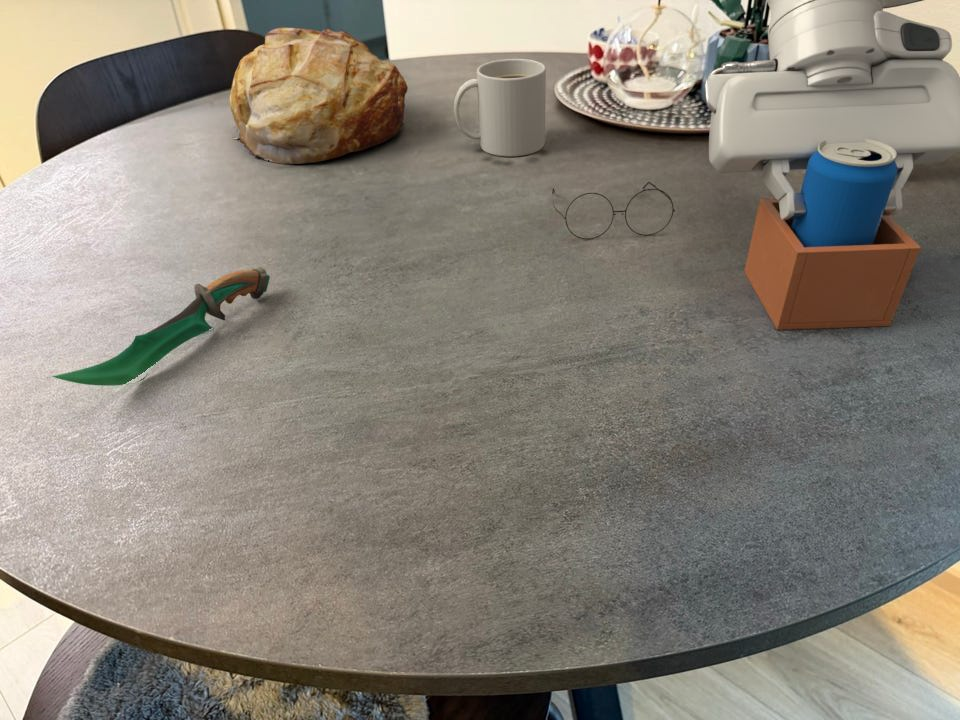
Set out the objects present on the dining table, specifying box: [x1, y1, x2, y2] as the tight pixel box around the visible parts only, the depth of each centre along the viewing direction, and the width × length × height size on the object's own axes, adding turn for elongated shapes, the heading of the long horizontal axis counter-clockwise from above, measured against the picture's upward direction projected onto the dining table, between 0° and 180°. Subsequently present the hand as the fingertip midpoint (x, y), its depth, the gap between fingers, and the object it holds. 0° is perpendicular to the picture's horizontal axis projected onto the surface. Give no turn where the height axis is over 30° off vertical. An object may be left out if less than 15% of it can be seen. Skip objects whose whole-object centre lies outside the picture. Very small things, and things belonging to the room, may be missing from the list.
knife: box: [51, 266, 271, 387], centre depth 60 cm, size 21×2×5 cm, turn 149°
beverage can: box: [791, 138, 897, 248], centre depth 59 cm, size 6×6×12 cm
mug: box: [453, 58, 547, 158], centre depth 93 cm, size 11×10×10 cm
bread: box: [228, 27, 409, 165], centre depth 99 cm, size 25×27×15 cm
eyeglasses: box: [551, 181, 676, 240], centre depth 77 cm, size 11×13×5 cm
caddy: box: [744, 198, 922, 331], centre depth 61 cm, size 10×10×8 cm
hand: (841, 215), depth 58 cm, fingers closed on beverage can, 6 cm apart
